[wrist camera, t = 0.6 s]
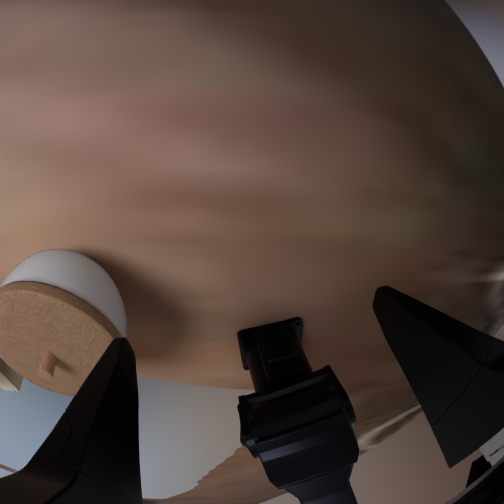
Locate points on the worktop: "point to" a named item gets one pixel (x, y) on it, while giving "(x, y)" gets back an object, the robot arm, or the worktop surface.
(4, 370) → the board
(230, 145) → the worktop surface
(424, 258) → the worktop surface
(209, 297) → the worktop surface
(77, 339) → the lidded jar
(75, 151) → the worktop surface
